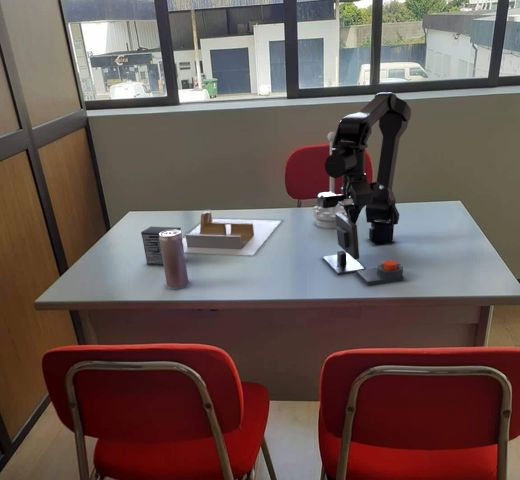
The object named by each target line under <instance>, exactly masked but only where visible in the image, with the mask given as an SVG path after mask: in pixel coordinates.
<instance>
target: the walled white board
mask: <svg viewBox="0 0 520 480" xmlns="http://www.w3.org/2000/svg"><path fill="white" fill-rule="evenodd" d="M281 222H282V220H273V219H272V220H270V219H269V220H268V219H267V220H266V219H236V218H235V219H233V218H232V219H230V218H229V219H228V218H224V219H223V218H213V217H212V210H211V209H209V208H207V209H205V208H204V209H202V213H201V215H200V224H199V225H197V226H196V227H195V228H194V229H192V230H191V231H189V232H188V231H187V230H186V232H185V233H184V234H185V236H184V237H182V241H183V247H184V253H188V254H208V255H209V254H210V255H211V254H213V255H229V256H230V255H231V256H233V255H234V256H254V255H255V253H257V251H258V250H259V249H260V247H262V245H263V244H264V242H266V240H267V239H268V238H269V237H270V235H271V234H272V233H273V232H274V230H275V229H276V228H277V227H278V226H279V225H280V223H281Z"/></svg>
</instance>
